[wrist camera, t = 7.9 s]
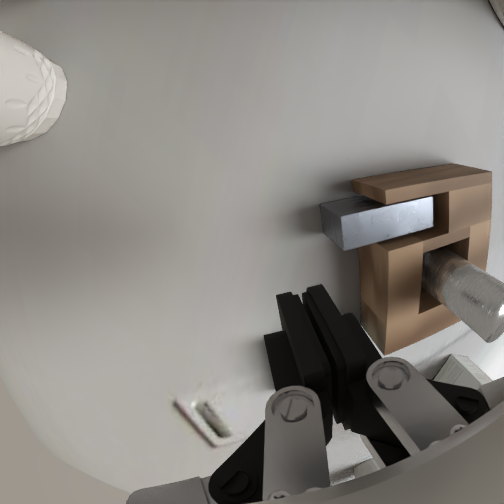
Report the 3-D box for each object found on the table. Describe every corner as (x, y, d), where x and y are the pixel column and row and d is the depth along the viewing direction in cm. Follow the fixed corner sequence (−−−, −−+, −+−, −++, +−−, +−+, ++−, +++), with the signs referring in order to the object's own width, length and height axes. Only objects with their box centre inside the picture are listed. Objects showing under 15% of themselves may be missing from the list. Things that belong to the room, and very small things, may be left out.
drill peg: (396, 239, 24) (491, 302, 13) (428, 230, 24) (522, 283, 13) (396, 278, 26) (478, 351, 14) (427, 267, 26) (510, 329, 15)
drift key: (319, 204, 22) (340, 216, 18) (403, 187, 22) (432, 196, 19) (323, 233, 23) (344, 250, 19) (405, 213, 23) (432, 226, 20)
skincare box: (438, 395, 35) (484, 457, 22) (417, 395, 34) (466, 467, 20) (469, 353, 33) (525, 413, 19) (451, 350, 32) (513, 419, 18)
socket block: (351, 179, 22) (385, 190, 17) (454, 163, 22) (491, 171, 18) (360, 324, 27) (384, 355, 22) (450, 289, 27) (477, 311, 23)
